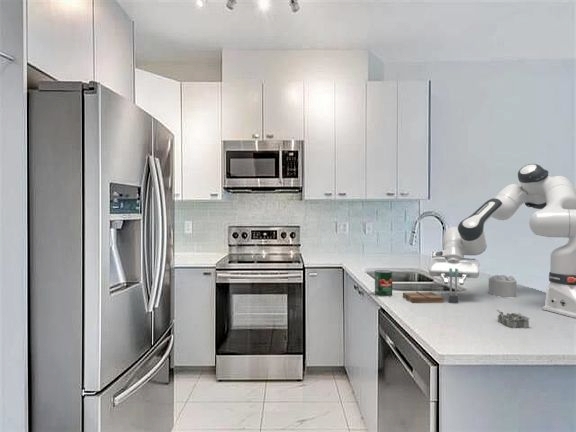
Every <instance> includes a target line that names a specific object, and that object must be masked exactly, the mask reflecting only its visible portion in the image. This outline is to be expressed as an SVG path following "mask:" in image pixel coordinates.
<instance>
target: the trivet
mask: <svg viewBox="0 0 576 432" xmlns="http://www.w3.org/2000/svg"><path fill="white" fill-rule="evenodd" d="M402 298H403V299H405V298H406V300H407V299H408V300H407V301H409V302H410V303H413V304H425V303H426V304H432V303H433V304H434V303H435V304H436V303H437V304H439V303H440V304H443V303H444V297H442V296H440V295H438V294H436V293H434V292H432V291H429V292H425V291H424V292H423V291H422V292H419V291H415V292H407V291H405V292H402Z"/></svg>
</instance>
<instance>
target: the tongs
mask: <svg viewBox="0 0 576 432" xmlns="http://www.w3.org/2000/svg"><path fill="white" fill-rule="evenodd" d="M449 274H450V277H449V293H448V303H449V304H459V295H458V277H457V275H458V269H455V277H454V293H452V292H453V291H452V290H453V277H452V268H449Z"/></svg>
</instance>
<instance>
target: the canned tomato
mask: <svg viewBox="0 0 576 432" xmlns="http://www.w3.org/2000/svg"><path fill="white" fill-rule="evenodd" d="M374 295H375V296H376V297H382V296H389V297H392V296H393V270H389V269H377V270H376V269H375V270H374Z"/></svg>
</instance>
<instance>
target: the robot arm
mask: <svg viewBox="0 0 576 432" xmlns="http://www.w3.org/2000/svg"><path fill="white" fill-rule="evenodd" d="M517 179H518V182H519V183H520V185H519V184H516V183H511V184H508V185H506V186H505V187H504V188H503V189H501V190H500V191H499V192H498V193H497V194H496V195H495V196H494V197H493V198H490V199H488V200H486V201H485V202H484V203H483V204H482V205H480V207H478V209H476V210H475V211H474V212H473V213H472V214H470V215H469V216H467V217H466V218H464V219H463V220H461V221H460V222H459V223H458V224H457V225H458V227H457V226H451V227H449V228H447V229H446V230H445V231H444V232H443V236H442V250H440V251H435V252H432V254H431V255H432V256H431V259H430V261H429V265H428V275H429V276H430V277H440V278H441V280H442V281H443V284H444V285H448V282H449V281H448V278H450V274H449V268H452V278H455V269H458V275H457V278H462V279H459V286H464V282H465V281H466V280H467V279H477V278H478V277H480V268H479V267H480V261H479V260H478V259H476V258H468V257H467V258H466V257H465V256H478V255H481V254H482V253H484V252H485V251H486V249H487V247H488V246H487V240H486V237H485V232H484V228H485V223H486V222H488V221H489V220H490V218H491V217H492V218H493V219H495V220H498V221H508V220H509V219H510V218H512V217H513V216H514V215H515V214H516V212H517V211H518V209H519V208H520V207H521V206H522V205H523V204H524V205H525V206H526V207H528V208H532V209H538V210H536V211H535V212H533V213H532V215H530V218H529V223H528V224H529V228H530V230H531V231H532V233H533V234H534V235H536V236H539V237H545V238H563V239H564V238H565V239H566V238H567V239H568V241H567V243H566V244H564V245H561V246H559V247H557V248H555V249H553V250H552V251H551V253H550V271H549V273H548V282H549V284H548V286H547V288H546V292H545V293H546V294H545V302H544V303H545V304H544V305H543V306H542V310H543V311H547V312H551V313H555V314H559V315H562V316H567V317H570V318H575V319H576V190H575V187H574V185H573V183H572V182H571V180H569V178H568V177H566V176H563V175H555V176H554V175H553V176H550V175H549V171H548V170H547V169H545V168H543V167H542V166H541V165H539V164H537V163H529V164H526V165H524V166H522V167H521V168H520V169H519V170H518V172H517Z"/></svg>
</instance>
